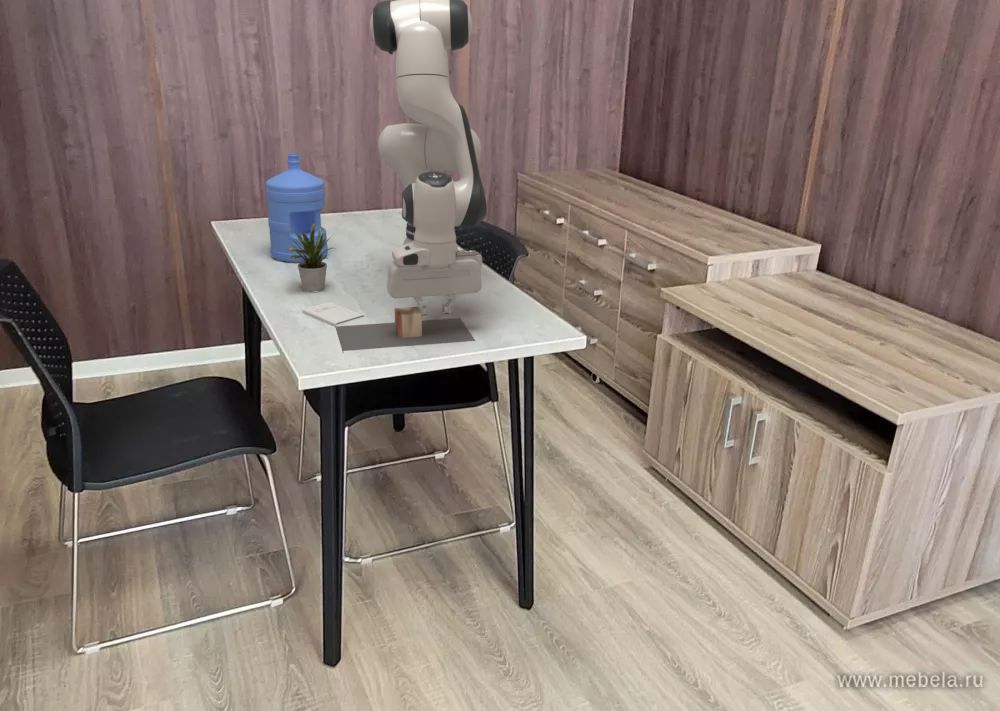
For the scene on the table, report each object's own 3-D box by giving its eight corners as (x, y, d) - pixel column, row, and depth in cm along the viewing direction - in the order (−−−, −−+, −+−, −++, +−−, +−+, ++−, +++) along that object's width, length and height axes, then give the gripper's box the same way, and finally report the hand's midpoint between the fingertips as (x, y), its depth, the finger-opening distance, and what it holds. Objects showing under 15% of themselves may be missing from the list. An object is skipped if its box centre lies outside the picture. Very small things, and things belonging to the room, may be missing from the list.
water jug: (259, 258, 226) (250, 156, 215) (292, 245, 240) (285, 148, 229) (307, 266, 221) (301, 161, 210) (338, 252, 235) (334, 153, 224)
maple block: (417, 327, 180) (395, 329, 179) (417, 306, 178) (394, 308, 177) (422, 336, 176) (398, 338, 174) (421, 314, 174) (398, 316, 172)
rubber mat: (335, 329, 180) (335, 326, 179) (459, 320, 187) (459, 317, 187) (343, 353, 167) (343, 350, 167) (475, 343, 175) (475, 340, 175)
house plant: (283, 279, 210) (279, 216, 204) (338, 277, 213) (335, 216, 207) (281, 297, 197) (277, 231, 191) (340, 295, 200) (337, 230, 194)
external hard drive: (335, 330, 181) (302, 315, 188) (364, 321, 187) (331, 307, 194) (335, 323, 180) (302, 308, 188) (364, 314, 186) (331, 300, 193)
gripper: (478, 245, 178) (476, 305, 183) (384, 250, 172) (385, 312, 177) (486, 253, 172) (484, 315, 178) (390, 258, 166) (391, 322, 172)
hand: (434, 313), depth 177 cm, fingers open, 4 cm apart
